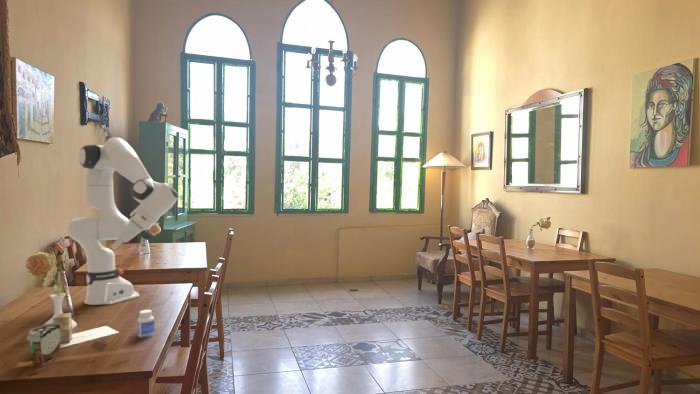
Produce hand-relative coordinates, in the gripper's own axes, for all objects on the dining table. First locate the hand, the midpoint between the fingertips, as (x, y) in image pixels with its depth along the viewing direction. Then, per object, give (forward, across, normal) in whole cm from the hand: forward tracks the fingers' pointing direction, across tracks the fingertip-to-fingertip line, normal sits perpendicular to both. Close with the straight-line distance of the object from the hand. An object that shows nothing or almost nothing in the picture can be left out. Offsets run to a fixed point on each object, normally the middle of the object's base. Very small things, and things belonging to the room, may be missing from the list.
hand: (113, 246), depth 168 cm
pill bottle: (+15, +15, +30) cm, 37 cm away
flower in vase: (+36, -4, +9) cm, 37 cm away
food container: (+36, +23, +9) cm, 43 cm away
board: (+29, +8, +15) cm, 34 cm away
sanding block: (+32, +11, +11) cm, 35 cm away
